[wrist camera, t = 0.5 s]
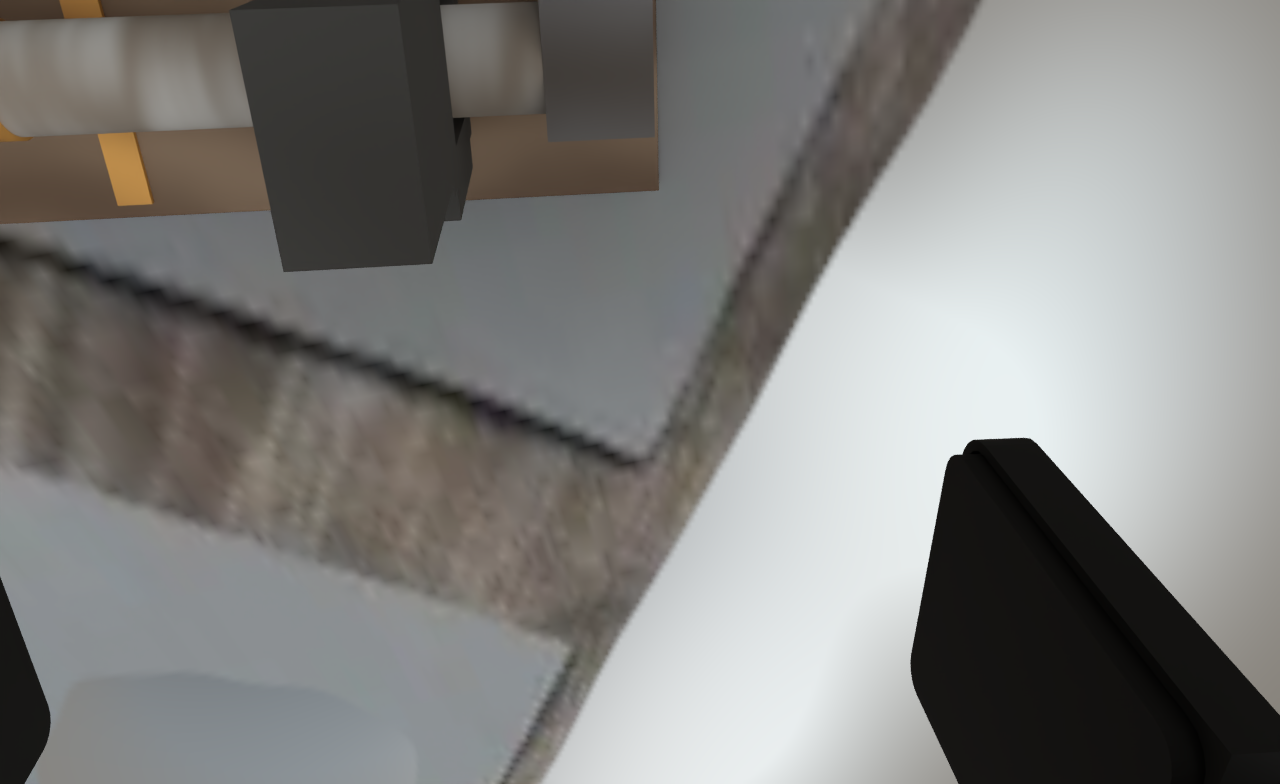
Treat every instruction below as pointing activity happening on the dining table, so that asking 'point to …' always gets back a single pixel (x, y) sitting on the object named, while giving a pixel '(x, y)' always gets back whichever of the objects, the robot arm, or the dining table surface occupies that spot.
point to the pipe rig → (222, 125)
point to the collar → (354, 128)
